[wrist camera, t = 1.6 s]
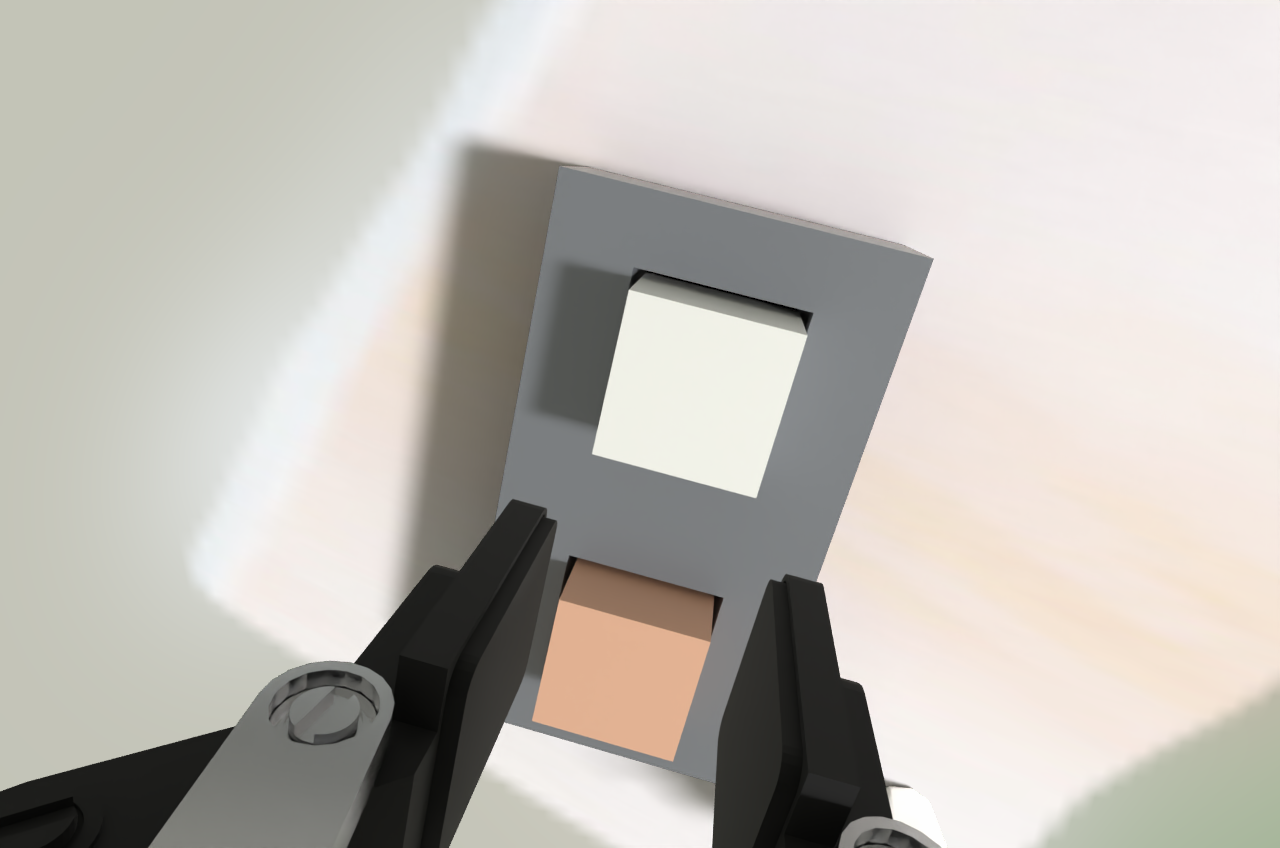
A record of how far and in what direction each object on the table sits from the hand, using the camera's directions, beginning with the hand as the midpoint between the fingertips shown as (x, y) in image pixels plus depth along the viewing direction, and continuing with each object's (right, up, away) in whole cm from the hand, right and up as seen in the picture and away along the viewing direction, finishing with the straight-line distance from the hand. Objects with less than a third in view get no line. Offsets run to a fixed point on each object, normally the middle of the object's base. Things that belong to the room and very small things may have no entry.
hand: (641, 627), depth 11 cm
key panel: (+1, +1, +20) cm, 20 cm away
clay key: (0, -5, +19) cm, 20 cm away
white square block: (+2, +5, +15) cm, 16 cm away
